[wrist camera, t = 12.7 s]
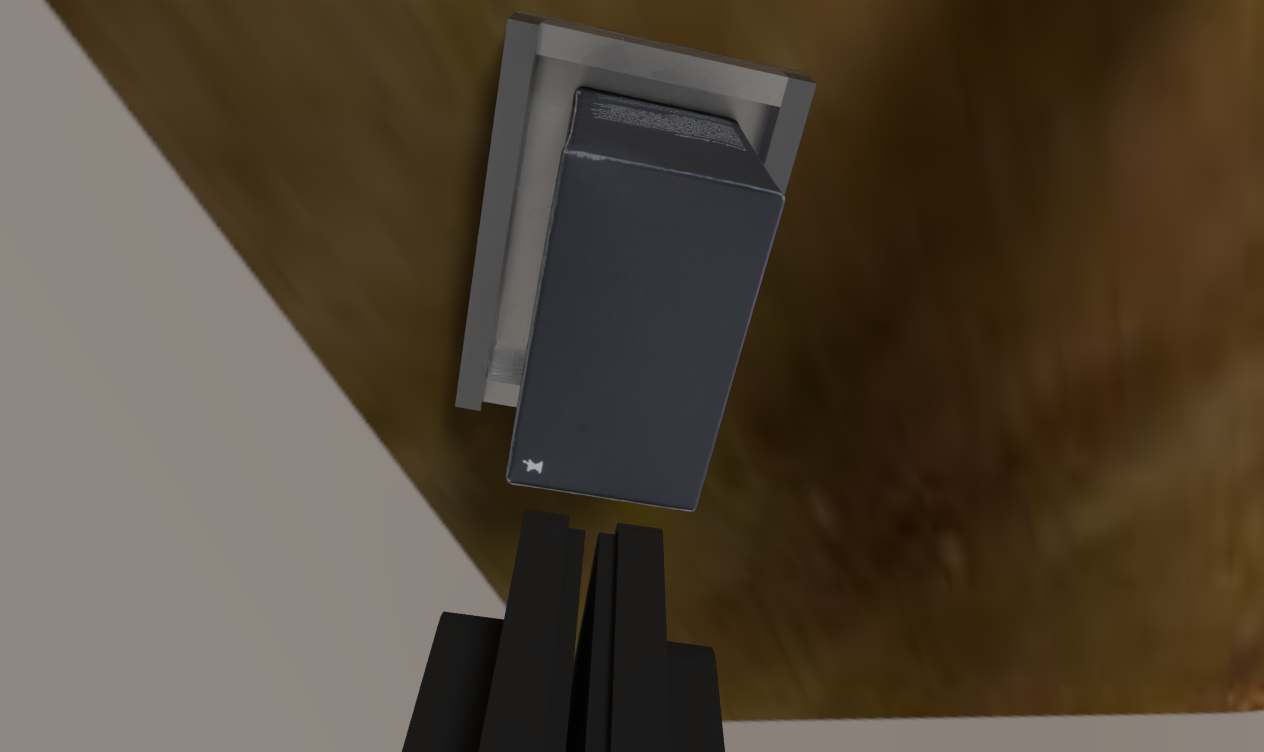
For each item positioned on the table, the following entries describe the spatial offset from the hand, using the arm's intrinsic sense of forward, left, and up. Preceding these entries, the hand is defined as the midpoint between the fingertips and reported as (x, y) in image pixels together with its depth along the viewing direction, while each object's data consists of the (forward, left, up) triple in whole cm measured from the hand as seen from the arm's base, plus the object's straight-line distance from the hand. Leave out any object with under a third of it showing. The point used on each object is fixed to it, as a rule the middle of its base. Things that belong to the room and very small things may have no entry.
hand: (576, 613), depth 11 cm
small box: (-1, +3, -25) cm, 25 cm away
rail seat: (-1, +3, -26) cm, 26 cm away
